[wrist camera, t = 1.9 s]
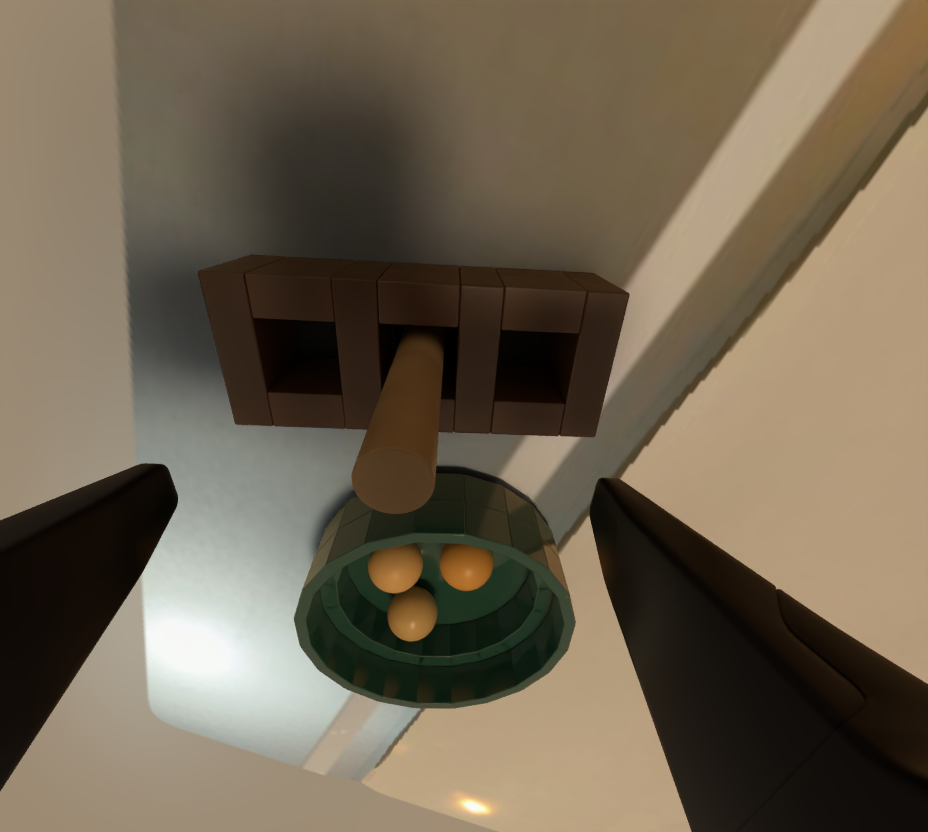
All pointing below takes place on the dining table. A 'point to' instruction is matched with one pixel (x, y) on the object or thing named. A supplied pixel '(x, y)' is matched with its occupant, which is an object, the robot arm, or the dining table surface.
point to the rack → (421, 304)
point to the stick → (404, 427)
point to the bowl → (439, 601)
